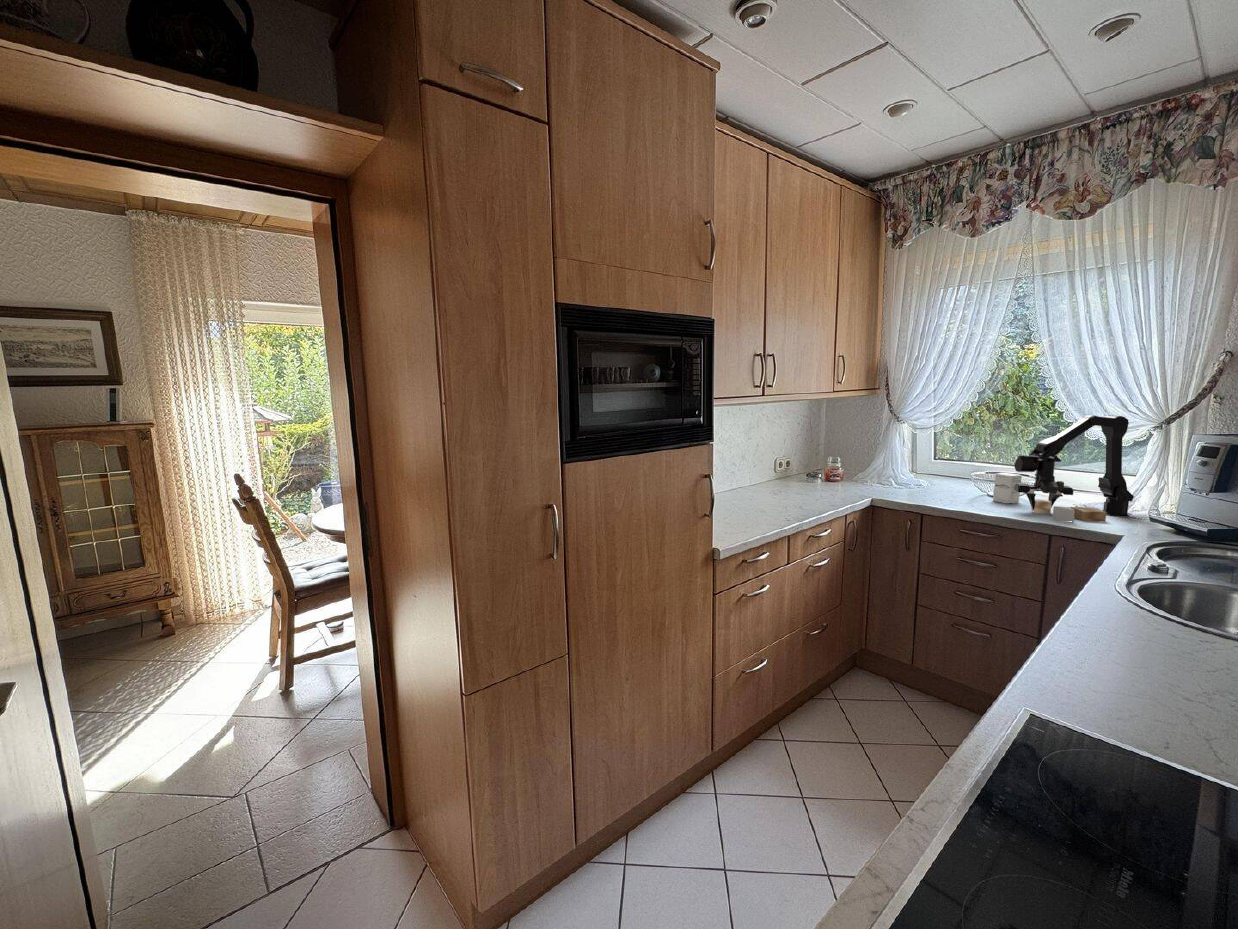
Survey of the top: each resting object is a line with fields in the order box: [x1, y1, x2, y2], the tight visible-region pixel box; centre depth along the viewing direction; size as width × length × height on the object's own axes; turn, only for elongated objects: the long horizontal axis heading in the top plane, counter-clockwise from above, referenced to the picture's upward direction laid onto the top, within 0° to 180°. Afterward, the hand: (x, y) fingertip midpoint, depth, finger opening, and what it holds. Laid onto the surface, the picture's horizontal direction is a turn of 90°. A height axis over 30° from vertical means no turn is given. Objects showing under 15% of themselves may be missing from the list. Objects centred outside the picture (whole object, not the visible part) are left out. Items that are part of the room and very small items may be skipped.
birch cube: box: [1030, 498, 1052, 515], centre depth 229 cm, size 5×5×5 cm
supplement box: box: [992, 472, 1023, 504], centre depth 248 cm, size 7×7×13 cm
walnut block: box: [1069, 506, 1107, 522], centre depth 218 cm, size 8×8×4 cm
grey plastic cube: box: [1051, 505, 1075, 523], centre depth 215 cm, size 5×5×5 cm
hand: (1040, 509), depth 229 cm, fingers closed on birch cube, 5 cm apart
